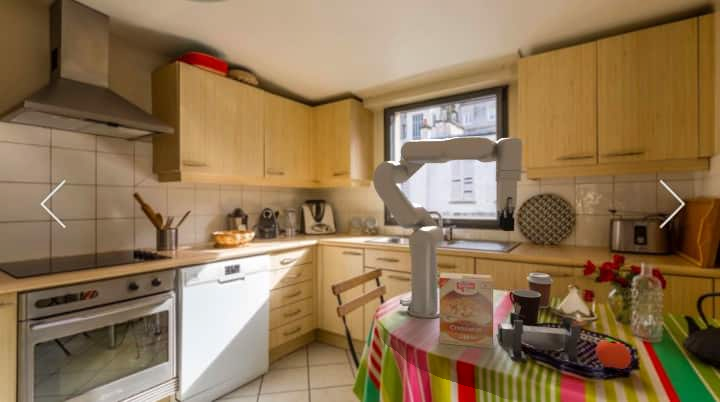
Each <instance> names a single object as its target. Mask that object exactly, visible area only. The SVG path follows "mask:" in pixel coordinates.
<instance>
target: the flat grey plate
mask: <svg viewBox="0 0 720 402" xmlns="http://www.w3.org/2000/svg"><path fill="white" fill-rule="evenodd" d="M496 338H497V341H498V344H499V346H502V347H507V346H508V347H512V343H506V342H501V341H499V338H498V333H497V334H496ZM532 346H533V347H534V348H536V349H535V350H538V349H540V351H548V350H559V349H560V348H555V347H545V346H535V345H532ZM564 350H565V349H564ZM577 353H579V354H580V351H579V350H578V349H577Z"/></svg>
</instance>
